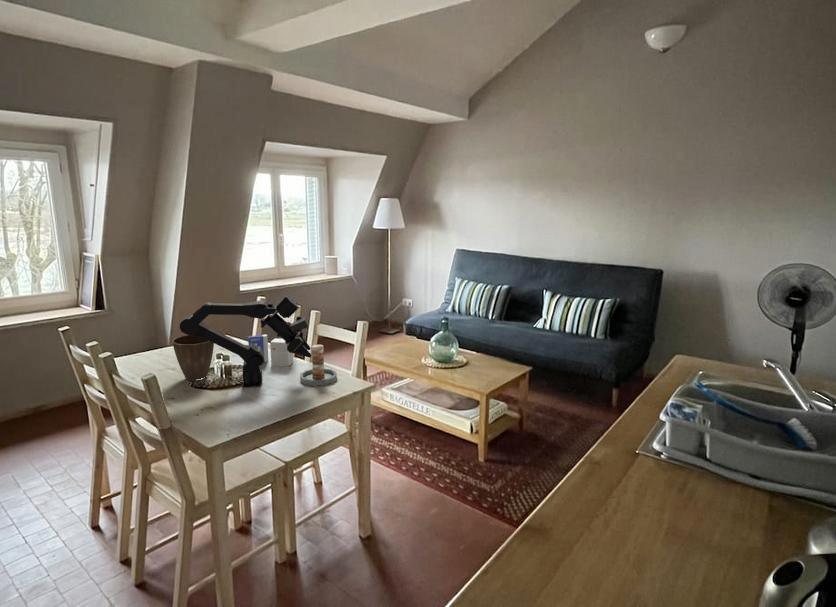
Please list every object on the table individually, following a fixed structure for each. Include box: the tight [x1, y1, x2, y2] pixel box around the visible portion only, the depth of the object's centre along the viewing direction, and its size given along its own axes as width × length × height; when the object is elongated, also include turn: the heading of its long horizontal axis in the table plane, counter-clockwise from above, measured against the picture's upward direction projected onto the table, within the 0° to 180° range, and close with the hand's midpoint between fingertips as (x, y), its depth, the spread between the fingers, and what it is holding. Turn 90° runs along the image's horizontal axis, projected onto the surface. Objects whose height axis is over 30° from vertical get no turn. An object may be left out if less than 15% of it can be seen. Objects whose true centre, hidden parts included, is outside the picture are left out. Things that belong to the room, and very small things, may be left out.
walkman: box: [247, 334, 269, 363], centre depth 211 cm, size 8×3×12 cm, turn 117°
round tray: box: [299, 367, 338, 386], centre depth 194 cm, size 14×14×2 cm
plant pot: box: [171, 334, 215, 381], centre depth 191 cm, size 15×15×16 cm
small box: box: [269, 338, 294, 367], centre depth 210 cm, size 8×6×10 cm
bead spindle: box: [311, 344, 325, 380], centre depth 193 cm, size 5×5×13 cm
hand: (310, 352), depth 191 cm, fingers open, 9 cm apart
